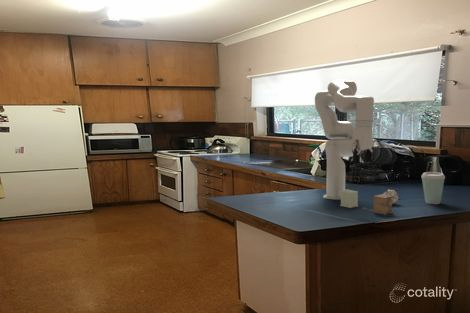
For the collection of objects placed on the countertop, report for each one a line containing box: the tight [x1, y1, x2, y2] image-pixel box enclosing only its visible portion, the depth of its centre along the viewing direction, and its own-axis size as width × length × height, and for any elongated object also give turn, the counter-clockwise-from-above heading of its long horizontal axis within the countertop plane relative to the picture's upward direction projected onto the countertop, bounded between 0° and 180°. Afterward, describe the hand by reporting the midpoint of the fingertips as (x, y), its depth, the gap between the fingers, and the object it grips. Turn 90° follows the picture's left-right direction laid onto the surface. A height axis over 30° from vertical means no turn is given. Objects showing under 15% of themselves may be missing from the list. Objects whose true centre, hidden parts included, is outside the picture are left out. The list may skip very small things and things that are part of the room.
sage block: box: [340, 189, 359, 208], centre depth 189 cm, size 6×6×7 cm
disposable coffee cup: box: [421, 171, 446, 205], centre depth 196 cm, size 11×11×15 cm
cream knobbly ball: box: [379, 187, 401, 205], centre depth 193 cm, size 9×8×10 cm
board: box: [339, 204, 394, 216], centre depth 182 cm, size 14×24×1 cm, turn 39°
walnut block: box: [373, 194, 393, 215], centre depth 175 cm, size 6×6×7 cm
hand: (362, 162), depth 179 cm, fingers open, 9 cm apart
